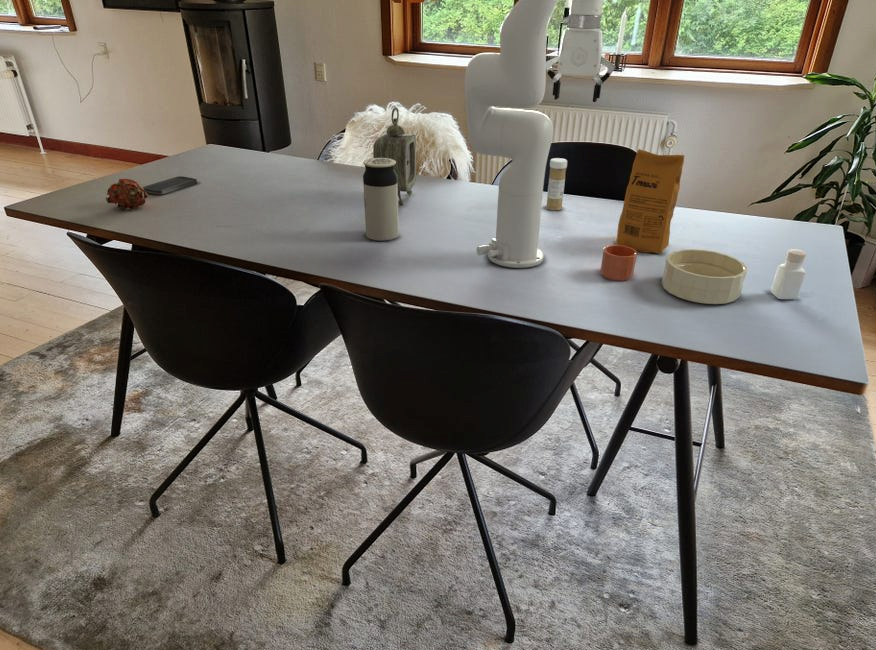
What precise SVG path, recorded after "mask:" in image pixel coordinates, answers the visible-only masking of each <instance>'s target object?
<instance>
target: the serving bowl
mask: <svg viewBox="0 0 876 650" xmlns="http://www.w3.org/2000/svg"><path fill="white" fill-rule="evenodd" d="M747 271H748V266H747V265H746V264H745V262H743V261H742V260H739V259H738V258H736V257H733V256H731V255H728V254H726V253H723V252H718V251H713V250H707V249H697V248H696V249H695V248H689V249H688V248H687V249H680V250H674V251H672V252H670V253H669V254H667V256H666V260H665V265H664V270H663V274H662V278H661V285H662V287H663V289H664V290H666V291H667V292H668V293H669V294H671V295H673V296H675V297H678V298H679V299H683V300H684V301H685V300H686V301H688V302H692V303H698V304H705V305H706V304H707V305H720V304H729V303H732V302H735V301H736V300H738V299H739V298H740V297H741V293H742V290H743V287H744V282H745V278H746V275H747Z"/></svg>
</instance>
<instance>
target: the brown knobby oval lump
mask: <svg viewBox="0 0 876 650" xmlns="http://www.w3.org/2000/svg"><path fill="white" fill-rule="evenodd" d="M142 187H143V186H141V184H139V183H138V181H135V180H134V179H132V178H118V181H117V183H112V184H111V185H110V186H109V188H108V189H107V191H106V196H107V197H105V200H106V202H107V203H108V204H114V205H117V207H118V208H119V209H120V210H123V211H124V210H127V209H130V210H138V209H139V208H140V206H144V205H145V204H146V200H147V198H148V197H149V195H148V193H147V192H146V191H145V190H144V189H143V188H142Z"/></svg>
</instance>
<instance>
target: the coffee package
mask: <svg viewBox="0 0 876 650" xmlns="http://www.w3.org/2000/svg"><path fill="white" fill-rule="evenodd" d="M684 163H685V155H684V154H657V153H653V152H650V151H647V150H642V149H641V148H638V149H637V150H636V154H635V158H634V160H633V164H632V169H631V173H630V176H629V182H628V185H627V187H626V190H625V196H624V201H623V206H622V210H621V213H620V215H619V219H618V224H617V231H616V238H615V245H621V246H627V247H631V248H633V249H635V250H636V251H637V252H641V253H648V254H649V253H651V254H662V253H663V251H664V250H666V249H667V247H668V246H669V244H670V235H671V221H672V219H673V218H674V213H675V212H674V211H675V208H676V205H677V201H678V196H679V193H680V192H679V191H680V187H681V178H682V174H683V166H684Z"/></svg>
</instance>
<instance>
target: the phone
mask: <svg viewBox="0 0 876 650" xmlns="http://www.w3.org/2000/svg"><path fill="white" fill-rule="evenodd" d="M197 184H198V179H197V178H193V177H187V176H183V175H182V176H181V175H179V176H175V177H171V178H168V179H165V180H162V181H157V182H155V183H152V184H151V183H150V184H148V185H144V186H141V187H142V188H143V189H144V190H145V191H146V194H152V195H157V196H158V195H159V196H161V195H166V194H168V193H172V192H175V191H179V190H181V189H185V188H188V187H191V186H194V185H197Z"/></svg>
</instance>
